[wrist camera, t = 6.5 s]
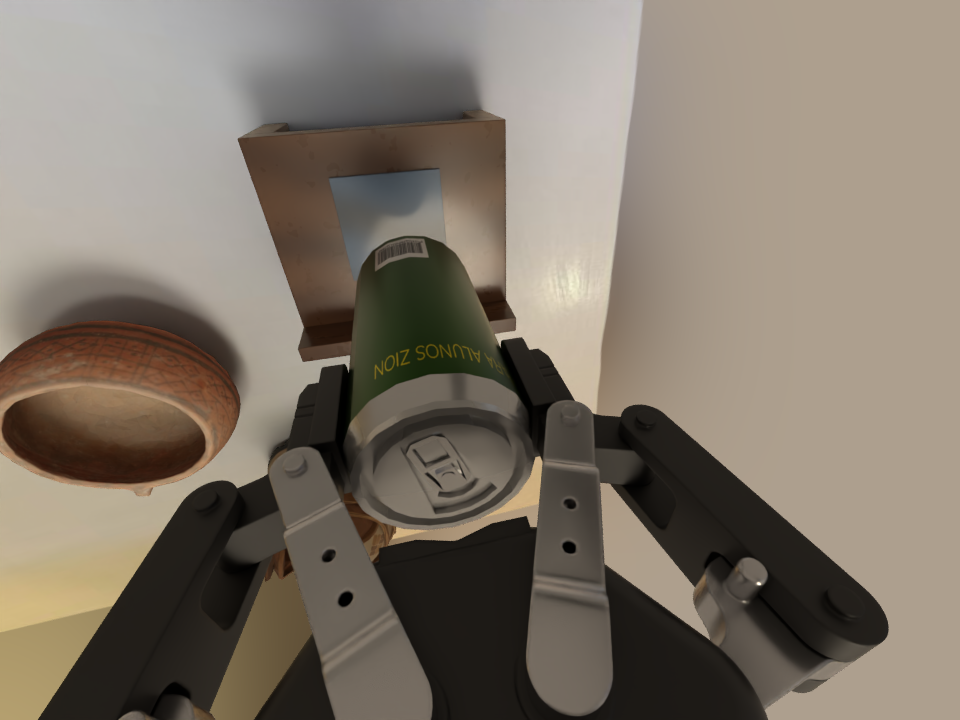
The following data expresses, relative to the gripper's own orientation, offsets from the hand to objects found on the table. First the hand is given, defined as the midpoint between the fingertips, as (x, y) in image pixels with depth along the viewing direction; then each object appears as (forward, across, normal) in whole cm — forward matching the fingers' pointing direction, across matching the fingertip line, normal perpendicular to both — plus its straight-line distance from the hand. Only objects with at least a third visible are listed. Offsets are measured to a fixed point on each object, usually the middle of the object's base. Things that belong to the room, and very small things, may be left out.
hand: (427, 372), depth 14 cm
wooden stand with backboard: (+24, +1, +1) cm, 24 cm away
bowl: (+24, +25, +13) cm, 37 cm away
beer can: (+8, 0, 0) cm, 8 cm away
